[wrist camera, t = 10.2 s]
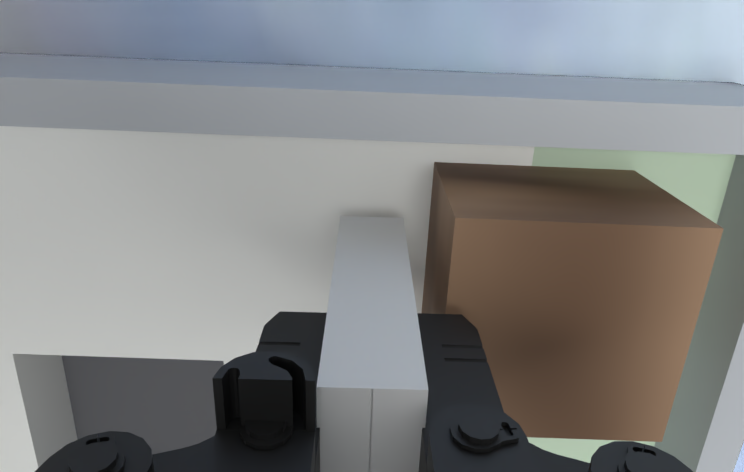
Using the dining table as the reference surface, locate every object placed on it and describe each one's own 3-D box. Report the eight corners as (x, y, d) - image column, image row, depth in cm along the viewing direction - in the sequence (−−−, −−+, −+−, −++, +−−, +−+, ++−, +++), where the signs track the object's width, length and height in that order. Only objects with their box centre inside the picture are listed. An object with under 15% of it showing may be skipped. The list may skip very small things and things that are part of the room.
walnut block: (419, 335, 16) (432, 433, 13) (434, 161, 14) (455, 217, 11) (596, 341, 16) (661, 441, 13) (634, 170, 14) (723, 228, 11)
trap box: (-186, 467, 21) (-321, 581, 17) (-364, 37, 16) (-630, 51, 12) (624, 493, 22) (684, 610, 18) (734, 82, 16) (860, 111, 12)
